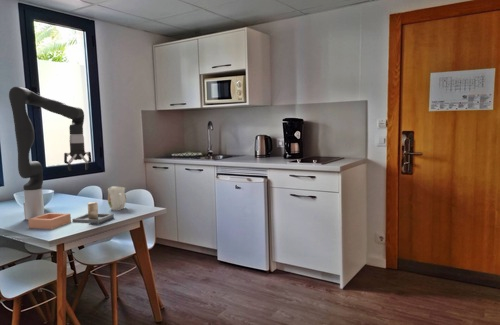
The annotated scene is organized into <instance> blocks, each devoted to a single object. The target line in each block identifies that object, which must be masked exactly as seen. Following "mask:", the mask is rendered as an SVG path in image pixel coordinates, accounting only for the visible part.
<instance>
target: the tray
mask: <svg viewBox="0 0 500 325" xmlns="http://www.w3.org/2000/svg"><path fill="white" fill-rule="evenodd" d="M113 219H115V216H114V213H100V212H98V219H97V220H96V219H88V213H86V214H83V215H80V216H77V217H74V218H72V220H71V221H72V222H73V223H85V224H86V223H88V224H89V225H95V226H96V225H97V226H100V225H101V224H103V223H106V222H108V221H111V220H113Z"/></svg>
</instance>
